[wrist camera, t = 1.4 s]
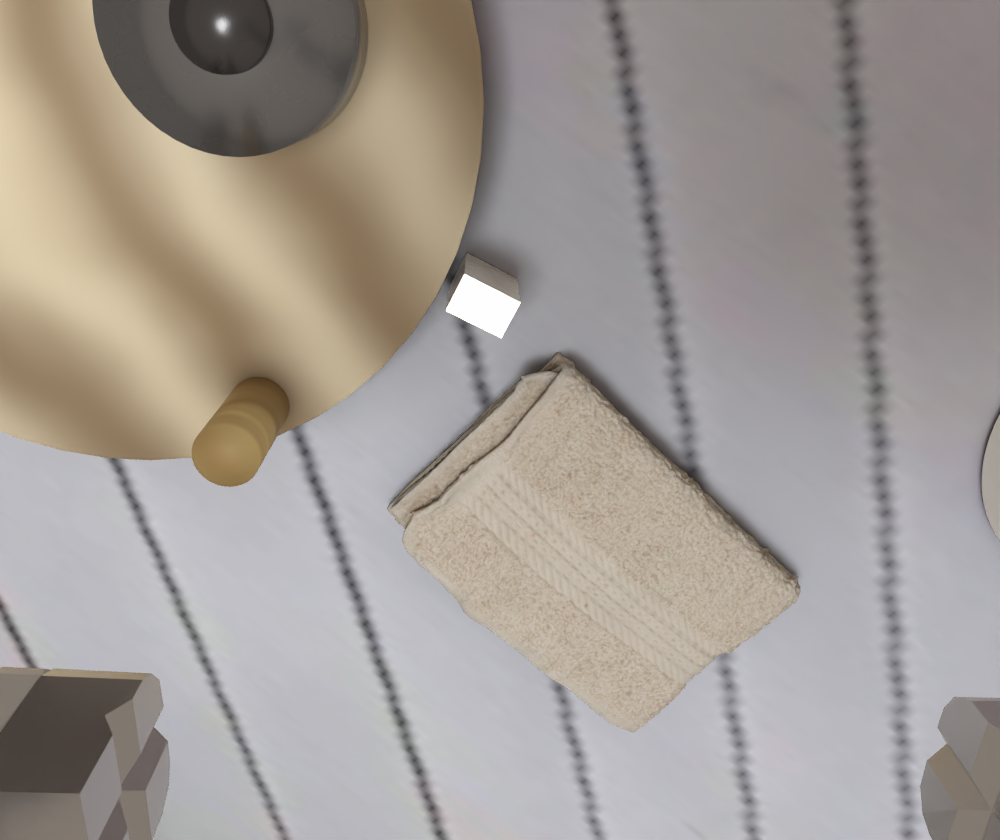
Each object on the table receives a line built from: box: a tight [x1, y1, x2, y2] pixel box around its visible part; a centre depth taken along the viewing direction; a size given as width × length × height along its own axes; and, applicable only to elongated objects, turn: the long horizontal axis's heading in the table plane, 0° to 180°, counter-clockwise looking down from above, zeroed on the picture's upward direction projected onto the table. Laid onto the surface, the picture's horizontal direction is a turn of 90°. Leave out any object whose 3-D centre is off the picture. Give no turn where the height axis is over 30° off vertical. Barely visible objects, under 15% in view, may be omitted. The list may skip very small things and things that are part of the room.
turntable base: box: [446, 253, 521, 338], centre depth 32 cm, size 26×26×4 cm
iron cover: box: [92, 0, 368, 157], centre depth 28 cm, size 8×8×4 cm
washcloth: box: [387, 353, 800, 732], centre depth 41 cm, size 12×18×3 cm, turn 46°
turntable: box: [0, 0, 484, 487], centre depth 29 cm, size 28×28×6 cm
